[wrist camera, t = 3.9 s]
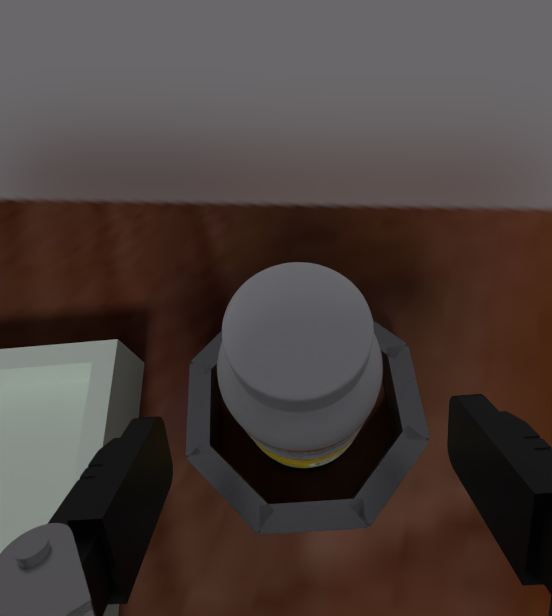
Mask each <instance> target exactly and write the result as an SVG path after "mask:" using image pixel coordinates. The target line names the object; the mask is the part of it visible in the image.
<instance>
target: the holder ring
mask: <svg viewBox="0 0 552 616" xmlns="http://www.w3.org/2000/svg"><path fill="white" fill-rule="evenodd" d="M373 326H374V334H375V336H376V338H377V340H378V343H379V346H380V350H381V354H382V364H383V374H382V379H383V385H384V390H385V395H386V401H387V406H388V411H389V417H390V422H391V427H392V433H393V438H394V439H393V441H392V442H391V444H390V445H389V446H388V448H387V449H386V450H385V452H384V453H383V454H382V456H381V457H380V459H379V460H378V461H377V463H376V464H375V465H374V467H373V468H372V469H371V471H370V472H369V474H368V475H367V476H366V478H365V479H364V480H363V482H362V483H361V485H360V486H359V487H358V489H357V490H356V491H355V493H354V494H353V495H352V497H351V498H350V499H341V500H326V501H311V502H295V503H280V504H271V503H270V502H269V501H268V500H267V499H266V498H265V497H264V496H263V495H262V494H261V493H260V492H259V491H258V490H257V489H256V488H255V487H254V486H253V485H252V484H251V483H250V482H249V481H248V480H247V479H246V478H245V477H244V476H243V475H242V474H241V473H240V472H239V471H238V470H237V469H236V468H235V467H234V466H233V465H232V464H231V463H230V462H229V461H228V460H227V459H226V458H225V457H224V456H223V455H222V454H221V453H220V452H219V441H220V388H219V383H218V376H217V360H218V354H219V350H220V346H221V343H222V331H221V332H220V333H219V334H218V335H217V336H216V337H215V338H214V339H213V340H212V341H211V342H210V343H209V344H208V345H207V346H206V347H205V348H204V349H203V350H202V351H201V352H200V353H199V354H198V355H197V356H196V357H195V358H194V359H193V360H192V361H191V362H192V363H193V364H190V371H189V392H188V413H187V435H186V456H188V458H187V460H188V461H189V462H190V463H191V464H192V465H193V466H194V467H195V468H196V469H197V470H198V471H199V472H200V473H201V474H202V476H203V477H204V478H205V479H206V480H207V481H208V482H209V483H210V484H211V485H212V486H213V487H214V488H215V489H216V490H217V491H218V492H219V494H220V495H221V496H222V497H223V498H224V499H225V500H226V501H227V502H228V503H229V504H230V505H231V506H232V507H233V508H234V509H235V511H236V512H237V513H238V514H239V515H240V516H241V517H242V518H243V519H244V520H245V521H246V522H247V523H248V524H249V525H250V526H251V527H252V529H253V530H254V531H255V532H256V533H259V532H260V535H261V534H278V533H294V532H310V531H326V530H342V529H359V528H367V525H368V526H371V524H372V523H373V522H374V520H375V519H376V517H377V516H378V514H379V513H380V511H381V510H382V509H383V507H384V506H385V504H386V503H387V501H388V500H389V499H390V497H391V496H392V494H393V493H394V491H395V490H396V488H397V487H398V486H399V484H400V483H401V481H402V480H403V478H404V477H405V476H406V474H407V473H408V471H409V470H410V468H411V467H412V465H413V464H414V463H415V461H416V460H417V458H418V457H419V455H420V454H421V453H422V451H423V450H424V448H425V447H426V445H427V444H428V442H429V441H428V439H429V438H430V437H429V433H428V429H427V424H426V420H425V415H424V411H423V407H422V402H421V398H420V394H419V389H418V385H417V381H416V376H415V372H414V367H413V363H412V359H411V354H410V350H409V346H406V344H407V343H405V342H404V341H402V340H401V339H400V338H398V337H397V336H395V335H394V334H392V333H391V332H389V331H388V330H387V329H385V328H384V327H382V326H381V325H379V324H378V323H376V322H375V321H374V320H373Z"/></svg>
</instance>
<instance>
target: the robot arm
mask: <svg viewBox="0 0 552 616" xmlns="http://www.w3.org/2000/svg"><path fill="white" fill-rule="evenodd" d="M448 454H449V458H450V462H451V464H452V467H453V469H454V471H455V472H456V474H457V476H458V477H459V479H460V481H461V482H462V484H463V486H464V487H465V489H466V491H467V492H468V494H469V496H470V498H471V499H472V501H473V503H474V504H475V506H476V508H477V509H478V511H479V513H480V514H481V516H482V518H483V519H484V521H485V523H486V524H487V526H488V528H489V529H490V531H491V533H492V534H493V536H494V538H495V540H496V541H497V543H498V545H499V546H500V548H501V550H502V551H503V553H504V555H505V556H506V558H507V560H508V561H509V563H510V565H511V566H512V568H513V570H514V571H515V573H516V575H517V576H518V578H519V580H520V582H521V583H522V585H523V586H524V585H545V586H546V588H547V589H548V591H549V592H550V594H551V601H550V608H549V616H552V449H551V446H549V445H548V444H547V443H546V442H545V441H544V440H543V439H540V436H539V435H538V434H537V433H536V432H535V431H534V430H533V429H532V428H531V427H530V426H529V425H528V424H527V423H526V422H525V421H523V420H521V419H519V418H517V417H516V416H514V415H512V414H510V413H508V412H507V411H503V412H499V411H498V410H497V409H496V408H495V407H494V406H493V405H492V404H491V402H490V401H489V400H488V399H487V398H486V397H485V396H484V395H482V394H474V395H461V396H452V397H451V399H450V402H449V421H448ZM172 476H173V465H172V459H171V454H170V449H169V444H168V440H167V435H166V430H165V425H164V422H163V419H162V418H161V417H147V418H134V419H132V420H131V421H130V423H129V425H128V426H127V428H126V429H125V431H124V432H123V434H122V435H121V437H120V438H113V439H112V440H111V441H109V442H108V443H107V444H106V445H104V446H103V447H102V448H101V449H100V450H98V451H97V453H96V454H95V456H94V457H93V459H92V460H91V462H90V463H89V464H88V468H86V469H85V470H84V472H83V473H82V474H81V476H80V480H77V482H76V483H75V485H74V486H73V487H72V489H71V490H70V492H69V493H68V495H67V496H66V498H65V499H64V500H63V502H62V503H61V505H60V506H59V508H58V509H57V511H56V512H55V513H54V515H53V516H52V518H51V519H50V521H49V522H48V524H45V525H41V526H38V527H36V528H33V529H31V530H29V531H27V532H25V533H24V534H22V535H20V536H19V537H17V538H16V539H15V540H13V541H12V542H11V543H10V544H9V545H8V546H7V547H6V548H5V549H4V550H3V551H2V552H1V553H0V616H103V614H104V612H105V610H106V607H107V605H110V604H127V602H128V599H129V596H130V594H131V591H132V588H133V586H134V583H135V580H136V578H137V575H138V572H139V569H140V567H141V564H142V561H143V559H144V556H145V553H146V551H147V548H148V545H149V543H150V540H151V537H152V535H153V532H154V529H155V527H156V524H157V521H158V519H159V516H160V513H161V510H162V508H163V505H164V502H165V500H166V497H167V494H168V492H169V489H170V486H171V482H172Z"/></svg>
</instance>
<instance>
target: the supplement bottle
mask: <svg viewBox="0 0 552 616" xmlns="http://www.w3.org/2000/svg"><path fill="white" fill-rule="evenodd" d="M382 374H383V364H382V354H381V350H380V346H379V343H378V340H377V338H376V336H375V334H374V326H373V318H372V315H371V312H370V309H369V306H368V304H367V302H366V300H365V298H364V296H363V295H362V293H361V292H360V291H359V289H358V288H357V287H356V286H355V285H354V284H353V283H352V282H351V281H350V280H348V279H347V278H346V277H344V276H343V275H341V274H340V273H338V272H336V271H334V270H332V269H330V268H327V267H324V266H321V265H318V264H313V263H305V262H291V263H284V264H280V265H275V266H272V267H270V268H267V269H265V270H263V271H261V272H259V273H257V274H256V275H254V276H252V277H251V278H250V279H248V280H247V281H246V282H245V283H244V284H243V285H242V286H241V287H240V288H239V289H238V290H237V292H236V293H235V294H234V295H233V297H232V299H231V301H230V302H229V304H228V306H227V309H226V311H225V314H224V318H223V323H222V343H221V346H220V350H219V354H218V360H217V376H218V383H219V388H220V391H221V395H222V397H223V400H224V402H225V404H226V406H227V408H228V409H229V411H230V412H231V414H232V415H233V417H234V418H235V419H236V421H237V422H238V423H239V424H240V425H241V427H242V428H243V429H244V430H245V431H246V432H247V434H248V435H249V436H250V437H251V438H252V439H253V441H254V442H255V443H256V444H257V446H258V447H259V448H260V449H261V450H262V451H263V452H264V453H266V454H267V455H268V456H269V457H271V458H272V459H274V460H276V461H277V462H279V463H282V464H284V465H286V466H290V467H295V468H313V467H318V466H321V465H324V464H327V463H329V462H331V461H333V460H334V459H336V458H337V457H339V456H340V455H341V454H342V453H343V452H345V451H346V449H347V448H348V447H349V446H350V445H351V443H352V442H353V441H354V439H355V437H356V436H357V434H358V432H359V431H360V429H361V427H362V426H363V424H364V422H365V421H366V419H367V418H368V416H369V414H370V413H371V411H372V409H373V407H374V405H375V403H376V400H377V397H378V394H379V391H380V387H381V382H382Z"/></svg>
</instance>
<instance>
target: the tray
mask: <svg viewBox="0 0 552 616" xmlns="http://www.w3.org/2000/svg"><path fill="white" fill-rule="evenodd" d="M143 372H144V362H143V361H142V360H141V359H140V358H138V357H137V356H136V355H135V354H134V353H133V352H132V351H131V350H129V349H128V348H127V347H126V346H125V345H124V344H123V343H121V342H120V341H119V340H118V339H114V340H102V341H90V342H79V343H67V344H55V345H43V346H31V347H19V348H8V349H0V553H1V552H2V551H3V550H4V549H5V548H6V547H7V546H8V545H9V544H10V543H11V542H12V541H13V540H15V539H16V538H17V537H19V536H20V535H22V534H24V533H25V532H27V531H29V530H31V529H33V528H36V527H38V526H41V525H45V524H48V522H49V521H50V519H51V518H52V516H53V515H54V513H55V512H56V511H57V509H58V508H59V506H60V505H61V503H62V502H63V500H64V499H65V498H66V496H67V495H68V493H69V492H70V490H71V489H72V487H73V486H74V485H75V483H76V482H77V480H80V476H81V474H82V473H83V472H84V470H85V469H86V468H88V464H89V463H90V462H91V460H92V459H93V457H94V456H95V454H96V453H97V451H98V450H100V449H101V448H102V447H103V446H104V445H106V444H107V443H108V442H109V441H111V440H112V439H113V438H120V437H121V435H122V434H123V432H124V431H125V429H126V428H127V426H128V425H129V423H130V421H131V420H132V419H134V418H139V411H140V401H141V392H142V382H143ZM119 605H120V604H110V605H107V607H106V610H105V612H104V614H103V616H118V614H119Z"/></svg>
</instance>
